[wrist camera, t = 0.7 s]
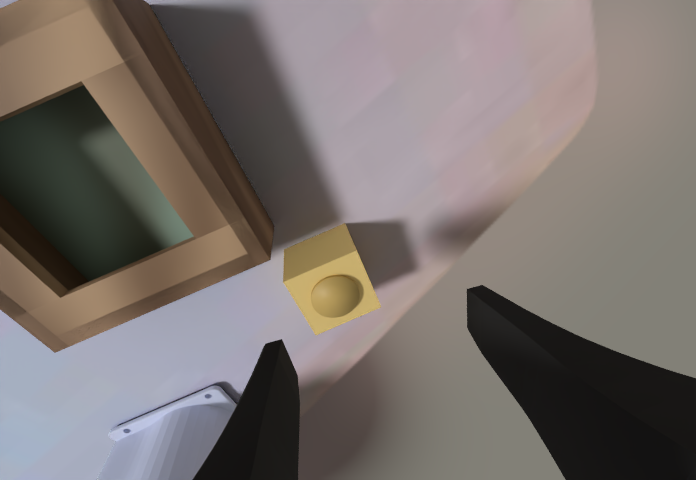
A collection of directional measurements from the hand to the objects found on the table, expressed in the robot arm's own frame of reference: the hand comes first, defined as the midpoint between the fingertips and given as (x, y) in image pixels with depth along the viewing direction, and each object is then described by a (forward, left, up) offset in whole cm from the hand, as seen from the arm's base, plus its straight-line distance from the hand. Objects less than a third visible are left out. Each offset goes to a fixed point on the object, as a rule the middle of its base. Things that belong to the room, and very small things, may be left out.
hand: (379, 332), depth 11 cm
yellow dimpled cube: (-2, -2, -10) cm, 10 cm away
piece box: (-10, +8, -10) cm, 16 cm away
